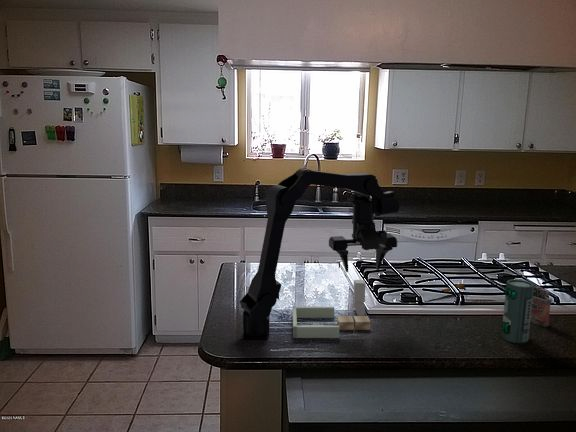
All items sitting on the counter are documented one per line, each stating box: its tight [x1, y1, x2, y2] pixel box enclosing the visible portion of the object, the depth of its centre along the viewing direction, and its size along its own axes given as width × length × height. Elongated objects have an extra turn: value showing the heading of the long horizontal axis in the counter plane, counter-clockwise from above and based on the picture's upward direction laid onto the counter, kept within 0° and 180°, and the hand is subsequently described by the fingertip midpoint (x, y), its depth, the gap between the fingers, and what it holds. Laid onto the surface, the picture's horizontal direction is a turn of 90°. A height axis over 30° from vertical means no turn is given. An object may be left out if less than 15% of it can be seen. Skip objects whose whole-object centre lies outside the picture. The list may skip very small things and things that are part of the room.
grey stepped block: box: [352, 279, 366, 316], centre depth 140 cm, size 3×9×9 cm, turn 0°
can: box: [501, 278, 535, 344], centre depth 121 cm, size 6×6×15 cm
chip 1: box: [336, 315, 355, 331], centre depth 129 cm, size 4×4×2 cm
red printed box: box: [530, 285, 552, 327], centre depth 133 cm, size 8×3×10 cm, turn 23°
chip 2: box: [353, 315, 371, 331], centre depth 129 cm, size 4×4×2 cm
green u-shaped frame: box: [292, 306, 340, 339], centre depth 129 cm, size 12×14×3 cm
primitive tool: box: [441, 282, 467, 292], centre depth 153 cm, size 19×6×4 cm, turn 116°
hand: (362, 270), depth 135 cm, fingers open, 9 cm apart
